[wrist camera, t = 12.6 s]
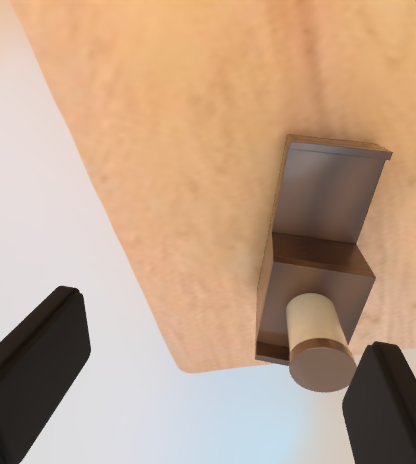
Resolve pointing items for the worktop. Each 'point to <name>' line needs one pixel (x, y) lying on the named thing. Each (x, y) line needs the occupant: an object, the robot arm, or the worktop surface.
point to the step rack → (317, 236)
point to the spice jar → (317, 345)
